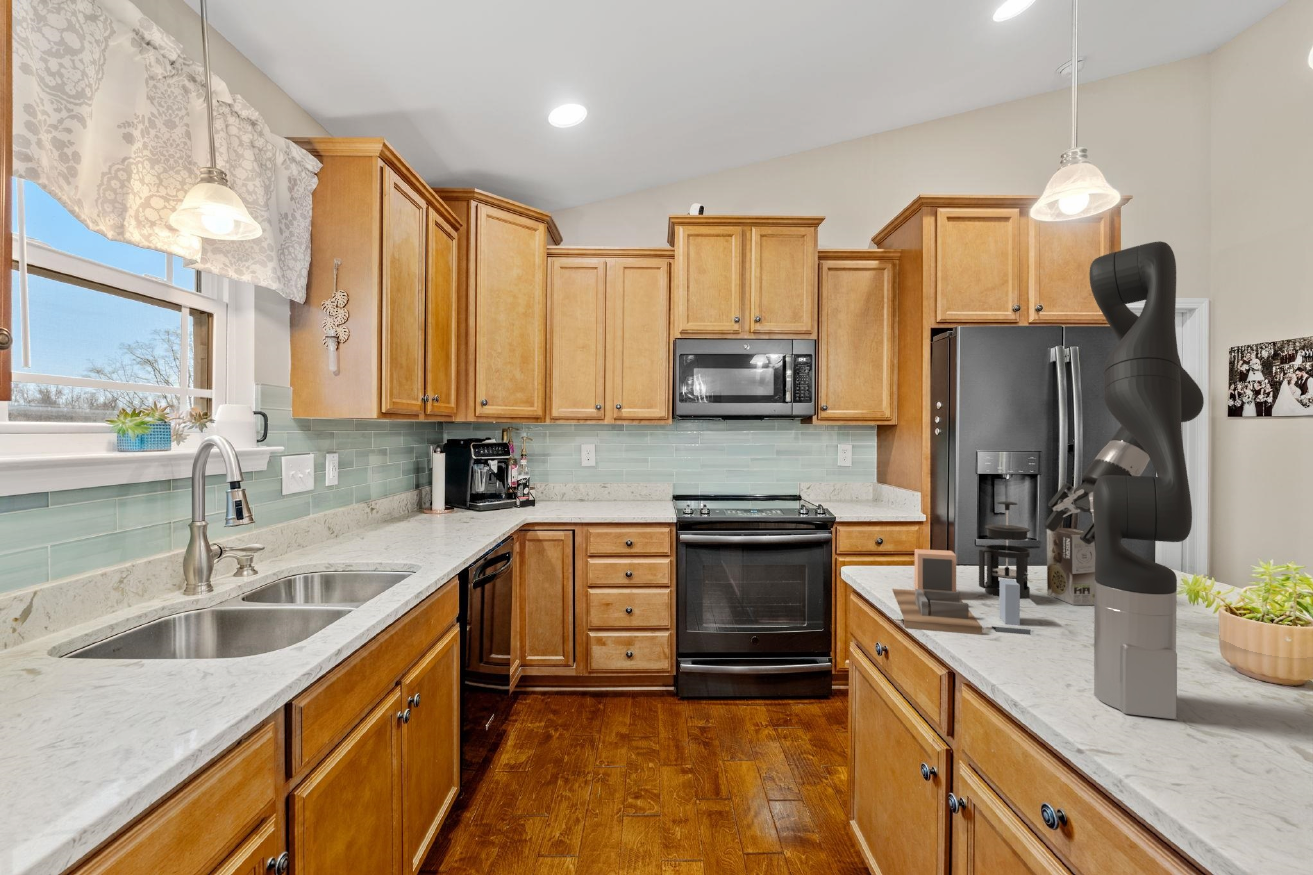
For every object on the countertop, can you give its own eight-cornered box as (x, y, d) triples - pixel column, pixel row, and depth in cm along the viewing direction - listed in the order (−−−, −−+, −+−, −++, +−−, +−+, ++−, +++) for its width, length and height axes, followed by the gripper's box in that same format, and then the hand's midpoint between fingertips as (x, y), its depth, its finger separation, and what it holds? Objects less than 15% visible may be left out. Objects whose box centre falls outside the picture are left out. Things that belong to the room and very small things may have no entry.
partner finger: (956, 600, 129) (956, 555, 129) (918, 597, 132) (918, 553, 132) (951, 593, 135) (951, 550, 135) (914, 590, 137) (914, 549, 137)
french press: (1014, 593, 140) (1015, 498, 140) (1043, 604, 131) (1043, 503, 130) (968, 594, 139) (968, 499, 139) (994, 606, 130) (994, 504, 129)
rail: (982, 634, 112) (982, 611, 112) (904, 627, 116) (904, 605, 116) (955, 599, 135) (955, 580, 135) (891, 594, 139) (891, 576, 139)
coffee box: (1100, 605, 130) (1101, 534, 130) (1072, 605, 130) (1072, 534, 130) (1072, 593, 139) (1072, 527, 139) (1045, 594, 139) (1045, 527, 139)
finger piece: (1030, 634, 112) (1030, 586, 112) (995, 631, 114) (996, 584, 113) (1022, 626, 117) (1022, 579, 117) (989, 623, 118) (989, 577, 118)
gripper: (1072, 452, 119) (1025, 515, 120) (1136, 464, 105) (1083, 535, 106) (1096, 473, 121) (1050, 535, 121) (1163, 486, 107) (1110, 557, 107)
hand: (1065, 535), depth 113 cm, fingers open, 8 cm apart
